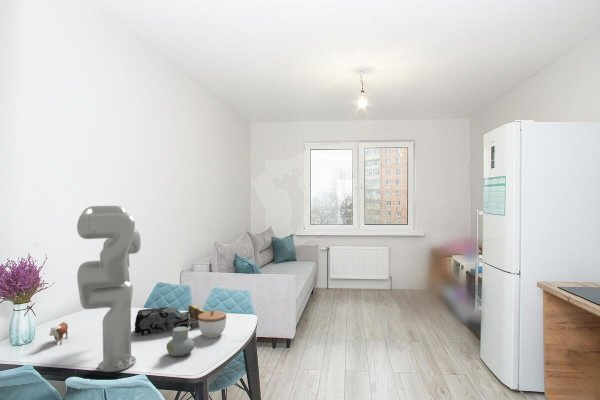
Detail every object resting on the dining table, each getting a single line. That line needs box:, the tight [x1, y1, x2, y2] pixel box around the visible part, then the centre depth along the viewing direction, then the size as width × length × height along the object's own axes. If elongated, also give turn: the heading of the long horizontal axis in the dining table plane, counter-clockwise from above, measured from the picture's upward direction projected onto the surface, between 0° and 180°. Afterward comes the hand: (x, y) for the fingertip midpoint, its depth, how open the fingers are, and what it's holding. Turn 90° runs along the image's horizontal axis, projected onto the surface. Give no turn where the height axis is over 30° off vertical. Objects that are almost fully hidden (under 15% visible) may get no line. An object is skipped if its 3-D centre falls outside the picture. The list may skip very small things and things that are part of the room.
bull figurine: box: [48, 321, 69, 346], centre depth 167 cm, size 4×13×8 cm, turn 11°
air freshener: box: [166, 327, 195, 357], centre depth 153 cm, size 11×8×10 cm
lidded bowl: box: [198, 309, 227, 339], centre depth 174 cm, size 13×13×11 cm
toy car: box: [133, 306, 191, 337], centre depth 181 cm, size 11×25×10 cm, turn 107°
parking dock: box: [182, 304, 207, 330], centre depth 191 cm, size 19×9×6 cm, turn 41°
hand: (120, 303), depth 169 cm, fingers open, 9 cm apart
